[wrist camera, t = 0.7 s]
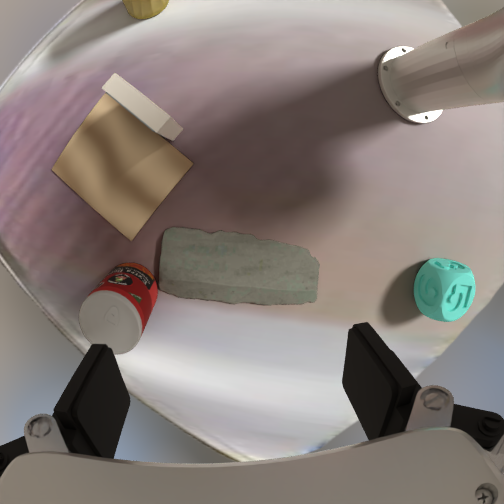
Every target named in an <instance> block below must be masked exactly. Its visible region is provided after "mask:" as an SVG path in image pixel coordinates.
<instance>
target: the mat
mask: <svg viewBox="0 0 504 504" xmlns="http://www.w3.org/2000/svg"><path fill="white" fill-rule="evenodd" d="M193 164H194V163H192V162H191V161H190V160H189V159H188V158H186V157H185V156H184V155H183V154H182V153H181V152H179V151H178V150H177V149H176V148H175V147H173V146H172V145H171V144H170V143H169V142H167V141H166V140H165V139H164V138H163V137H161V136H160V135H159V134H157V133H155V132H153V131H152V130H151V129H150V128H148V127H147V126H146V125H145V124H144V123H142V122H141V121H140V120H139V119H137V118H136V117H135V116H134V115H133V114H131V113H130V112H129V111H128V110H126V109H125V108H124V107H123V106H121V105H120V104H119V103H118V102H116V101H115V100H114V99H113V98H112V97H110V96H109V95H108V94H107V93H105V94H104V95H103V97H102V98H101V99H100V100H99V102H98V103H97V104H96V105H95V107H94V108H93V109H92V111H91V112H90V113H89V115H88V116H87V117H86V119H85V120H84V121H83V123H82V124H81V125H80V127H79V128H78V130H77V131H76V132H75V134H74V135H73V137H72V138H71V140H70V141H69V143H68V144H67V146H66V147H65V149H64V150H63V152H62V153H61V155H60V157H59V158H58V160H57V161H56V163H55V165H54V166H53V168H52V170H53V171H54V172H55V173H56V174H57V175H58V176H59V177H60V178H61V179H62V180H63V181H64V182H65V183H66V184H67V185H68V186H70V187H71V188H72V189H73V190H74V191H75V192H76V193H77V194H78V195H79V196H80V197H81V198H83V199H84V200H85V201H86V202H87V203H88V204H89V205H90V206H91V207H92V208H94V209H95V210H96V211H97V212H98V213H99V214H100V215H101V216H103V217H104V218H105V219H106V220H107V221H108V222H109V223H111V224H112V225H113V226H114V227H115V228H116V229H118V230H119V231H120V232H121V233H122V234H123V235H125V236H126V237H127V238H128V239H129V240H130V241H132V240H133V239H134V237H135V236H136V235H137V233H138V232H139V231H140V229H141V228H142V227H143V225H144V224H145V223H146V222H147V220H148V219H149V218H150V216H151V215H152V214H153V213H154V211H155V210H156V209H157V207H158V206H159V205H160V204H161V202H162V201H163V200H164V199H165V198H166V196H167V195H168V194H169V193H170V191H171V190H172V189H173V188H174V187H175V185H176V184H177V183H178V182H179V181H180V179H181V178H182V177H183V176H184V175H185V173H186V172H187V171H188V170H189V169H190V168H191V166H192V165H193Z"/></svg>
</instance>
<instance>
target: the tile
mask: <svg viewBox="0 0 504 504" xmlns="http://www.w3.org/2000/svg"><path fill="white" fill-rule="evenodd" d="M102 89H103V90H105V91H106V93H107V94H108V95H109V96H110V97H112V98H113V99H114V100H115V101H116V102H118V103H119V104H120V105H121V106H123V107H124V108H125V109H126V110H128V111H129V112H130V113H131V114H133V115H134V116H135V117H136V118H137V119H139V120H140V121H141V122H142V123H144V124H145V125H146V126H147V127H148V128H150V129H151V130H152V131H153V132H155V133H157V134H159V135H161V136H163V137H165V138H167V139H170V140H172V141H174V139H175V138H176V137H177V136H178V135H179V134H180V133H181V132H182V130H183V128H182V127H181V126H180V125H179V124H178V123H177V122H176V121H175V120H174V119H173V118H172V117H171V116H169V115H168V114H167V113H166V112H164V111H163V110H162V109H161V108H159V107H158V106H157V105H156V104H154V103H153V102H152V101H151V100H149V99H148V98H147V97H146V96H144V95H143V94H142V93H141V92H139V91H138V90H137V89H135V88H134V87H133V86H132V85H130V84H129V83H128V82H126V81H125V80H124V79H122V78H121V77H120V76H119V75H117V74H116V73H114V74H113V75H112V77H111V78H110V79H109V80H108V81H107V82H106V84H105V85H104V86H103V87H102Z"/></svg>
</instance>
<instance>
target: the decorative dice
mask: <svg viewBox="0 0 504 504" xmlns="http://www.w3.org/2000/svg"><path fill="white" fill-rule="evenodd" d="M474 295H475V280H474V276H473V274H472V271H471V269H470V268H469V267H468V266H466V265H464V264H462V263H459V262H457V261H453V260H449V259H442V258H433V259H430V260H428V261H427V262H426V263H425V264H424V265H423V266H422V267H421V268H420V270H419V272H418V274H417V276H416V278H415V282H414V298H415V302H416V305H417V307H418V308H419V310H420V311H421V313H423V314H424V315H425V316H427V317H429V318H431V319H434V320H438V321H444V322H451V321H455V320H457V319H459V318H460V317H461V316H463V315H464V314H465V313H466V311H467V310H468V309H469V307H470V305H471V303H472V301H473V298H474Z"/></svg>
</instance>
